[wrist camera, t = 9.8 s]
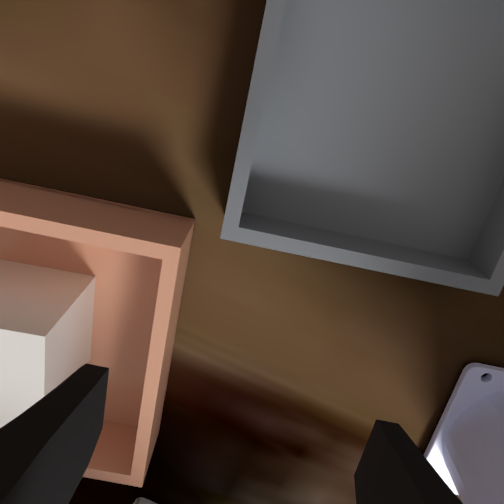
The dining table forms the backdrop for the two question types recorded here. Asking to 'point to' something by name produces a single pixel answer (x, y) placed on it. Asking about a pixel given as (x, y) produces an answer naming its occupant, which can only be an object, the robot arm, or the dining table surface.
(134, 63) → the dining table surface
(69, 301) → the white cube
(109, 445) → the bin
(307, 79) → the tray
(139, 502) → the coffee box
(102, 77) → the dining table surface
